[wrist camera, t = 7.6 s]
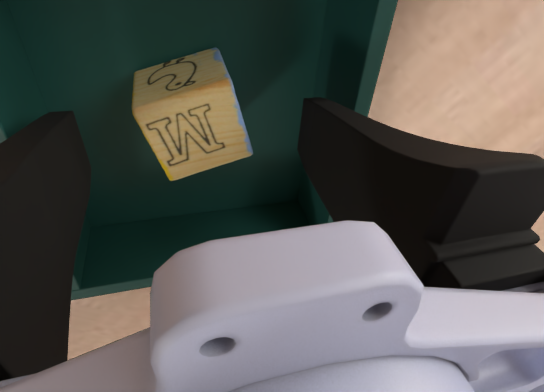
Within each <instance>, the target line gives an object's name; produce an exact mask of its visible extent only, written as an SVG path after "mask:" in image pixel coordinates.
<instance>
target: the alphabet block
mask: <svg viewBox="0 0 544 392" xmlns="http://www.w3.org/2000/svg"><path fill="white" fill-rule="evenodd" d="M132 114H133V116H134V118H135V120H136V122H137V123H138V125H139V127H140V128H141V130H142V132H143V134H144V136H145V138H146V139H147V141H148V143H149V145H150V146H151V148H152V150H153V152H154V153H155V155H156V157H157V159H158V161H159V162H160V164H161V166H162V168H163V169H164V171H165V173H166V175H167V177H168V179H169V180H170V181H174V180H178V179H181V178H184V177H187V176H190V175H193V174H195V173H198V172H202V171H204V170H208V169H211V168H214V167H217V166H220V165H223V164H226V163H230V162H233V161H236V160H239V159H242V158H246V157H249V156H251V155H252V154H253V150H252V146H251V143H250V139H249V136H248V133H247V130H246V127H245V123H244V120H243V117H242V113H241V110H240V106H239V103H238V100H237V97H236V94H235V90H234V86H233V82H232V80H231V78H230V75H229V73H228V71H227V68H226V66H225V63H224V61H223V58H222V56H221V54H220V51H219V49H218V48H216V47H215V48H211V49H208V50H204V51H201V52H197V53H194V54H191V55H188V56H185V57H181V58H178V59H174V60H171V61H168V62H165V63H162V64H159V65H155V66H152V67H148V68H146V69H142V70H138V71H136V72H135V73H134V80H133V92H132Z"/></svg>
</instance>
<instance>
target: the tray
mask: <svg viewBox="0 0 544 392" xmlns="http://www.w3.org/2000/svg"><path fill="white" fill-rule="evenodd" d="M397 2H398V0H0V143H2V142H3V141H5V140H6V139H8V138H9V137H11V136H12V135H14V134H15V133H17V132H18V131H20V130H21V129H23V128H24V127H26V126H27V125H29V124H30V123H32V122H33V121H35V120H36V119H38V118H39V117H41V116H43V115H45V114H47V113H49V112H58V111H73V112H74V115H75V118H76V121H77V125H78V128H79V131H80V134H81V137H82V140H83V143H84V146H85V149H86V152H87V156H88V159H89V162H90V165H91V187H90V196H89V201H88V205H87V209H86V214H85V218H84V222H83V226H82V230H81V235H80V239H79V243H78V247H77V251H76V257H75V262H74V271H73V281H72V291H71V300H76V299H82V298H88V297H94V296H99V295H105V294H111V293H117V292H123V291H128V290H134V289H140V288H146V287H152V281H153V276H154V272H155V271H156V270H157V269H158V268H160V267H161V266H162V265H163V264H164V263H165V262H166V261H167V260H169V259H170V258H171V257H172V256H173V255H174V254H175V253H176V252H178V251H180V250H183V249H186V248H189V247H192V246H195V245H198V244H201V243H204V242H207V241H210V240H216V239H223V238H230V237H237V236H243V235H250V234H257V233H264V232H271V231H277V230H284V229H291V228H298V227H305V226H311V225H318V224H325V223H332V222H333V220H332V218H331V216H330V214H329V212H328V211H327V209H326V207H325V205H324V204H323V202H322V200H321V198H320V197H319V195H318V193H317V191H316V190H315V188H314V186H313V184H312V182H311V181H310V179H309V177H308V175H307V173H306V172H305V169H304V167H303V164H302V162H301V159H300V156H299V153H298V150H297V146H298V139H299V131H300V123H301V115H302V107H303V100H304V98H313V97H322V98H325V99H328V100H331V101H333V102H336V103H338V104H340V105H342V106H344V107H347V108H349V109H351V110H353V111H355V112H357V113H359V114H362V115H364V116H366V117H368V113H369V109H370V105H371V101H372V98H373V94H374V90H375V86H376V82H377V78H378V75H379V71H380V67H381V63H382V59H383V56H384V52H385V48H386V44H387V40H388V36H389V33H390V29H391V25H392V21H393V17H394V13H395V10H396V6H397ZM215 47H216V48H218V49H219V51H220V54H221V56H222V58H223V61H224V63H225V66H226V68H227V71H228V73H229V75H230V78H231V80H232V82H233V86H234V90H235V94H236V97H237V100H238V103H239V106H240V110H241V113H242V117H243V120H244V123H245V127H246V130H247V133H248V136H249V139H250V143H251V146H252V150H253V154H252V155H251V156H249V157H246V158H242V159H239V160H236V161H233V162H230V163H226V164H223V165H220V166H217V167H214V168H211V169H208V170H204V171H202V172H198V173H195V174H193V175H190V176H187V177H184V178H181V179H178V180H174V181H170V180H169V179H168V177H167V175H166V173H165V171H164V169H163V168H162V166H161V164H160V162H159V161H158V159H157V157H156V155H155V153H154V152H153V150H152V148H151V146H150V145H149V143H148V141H147V139H146V138H145V136H144V134H143V132H142V130H141V128H140V127H139V125H138V123H137V122H136V120H135V118H134V116H133V114H132V92H133V80H134V73H135V72H136V71H138V70H142V69H146V68H148V67H152V66H155V65H159V64H162V63H165V62H168V61H171V60H174V59H178V58H181V57H185V56H188V55H191V54H194V53H197V52H201V51H204V50H208V49H211V48H215Z"/></svg>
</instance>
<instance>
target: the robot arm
mask: <svg viewBox="0 0 544 392" xmlns="http://www.w3.org/2000/svg"><path fill="white" fill-rule="evenodd" d="M297 150H298V153H299V156H300V159H301V162H302V164H303V167H304V169H305V172H306V173H307V175H308V177H309V179H310V181H311V182H312V184H313V186H314V188H315V190H316V191H317V193H318V195H319V197H320V198H321V200H322V202H323V204H324V205H325V207H326V209H327V211H328V212H329V214H330V216H331V218H332V220H333V222H332V223H325V224H318V225H311V226H305V227H298V228H291V229H284V230H277V231H271V232H264V233H257V234H250V235H243V236H237V237H230V238H223V239H216V240H210V241H207V242H204V243H201V244H198V245H195V246H192V247H189V248H186V249H183V250H180V251H178V252H176V253H175V254H174V255H173V256H172V257H171V258H170V259H169V260H167V261H166V262H165V263H164V264H163V265H162V266H161V267H160V268H158V269H157V270H156V271H155V272H154V276H153V281H152V287H151V292H150V327H149V328H147V329H144V330H142V331H139V332H137V333H134V334H132V335H130V336H127V337H125V338H122V339H120V340H117V341H115V342H112V343H110V344H107V345H105V346H102V347H100V348H97V349H95V350H92V351H90V352H87V353H85V354H82V355H80V356H78V357H75V358H73V359H70V360H68V361H67V355H68V335H69V317H70V304H71V291H72V281H73V271H74V262H75V257H76V251H77V247H78V243H79V239H80V235H81V230H82V226H83V222H84V218H85V214H86V209H87V205H88V201H89V196H90V187H91V165H90V162H89V159H88V156H87V152H86V149H85V146H84V143H83V140H82V137H81V134H80V131H79V128H78V125H77V121H76V118H75V115H74V112H73V111H58V112H49V113H47V114H45V115H43V116H41V117H39V118H38V119H36V120H35V121H33V122H32V123H30V124H29V125H27V126H26V127H24V128H23V129H21V130H20V131H18V132H17V133H15V134H14V135H12V136H11V137H9V138H8V139H6V140H5V141H3V142H2V143H0V392H544V253H543V252H542V251H541V250H540V249H539V248H538V247H537V246H536V245H535V243H538V241H539V240H540V238H539V236H538V235H537V234H536V233H535V232H534V231H533V230H531V229H530V228H531V227H532V226H533V224H534V223H535V222H536V220H537V219H538V218H539V216H540V215H541V214H542V212H543V211H544V159H542V158H541V157H539V156H537V155H533V154H524V153H512V152H501V151H491V150H483V149H477V148H470V147H464V146H458V145H453V144H448V143H444V142H440V141H435V140H431V139H427V138H423V137H420V136H416V135H413V134H410V133H407V132H404V131H401V130H398V129H395V128H392V127H390V126H387V125H385V124H382V123H380V122H377V121H375V120H373V119H370V118H368V117H366V116H364V115H362V114H359V113H357V112H355V111H353V110H351V109H349V108H347V107H344V106H342V105H340V104H338V103H336V102H333V101H331V100H328V99H325V98H322V97H313V98H304V100H303V107H302V115H301V123H300V131H299V139H298V146H297Z"/></svg>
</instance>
